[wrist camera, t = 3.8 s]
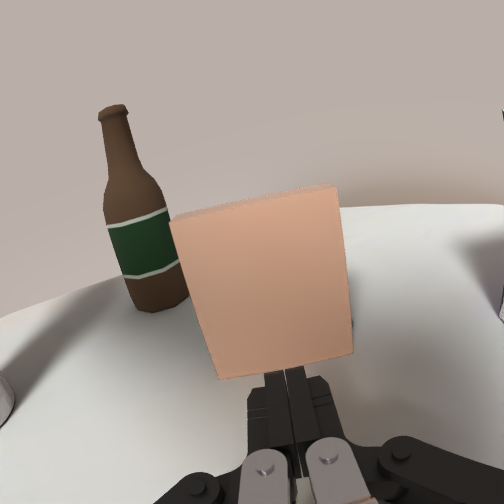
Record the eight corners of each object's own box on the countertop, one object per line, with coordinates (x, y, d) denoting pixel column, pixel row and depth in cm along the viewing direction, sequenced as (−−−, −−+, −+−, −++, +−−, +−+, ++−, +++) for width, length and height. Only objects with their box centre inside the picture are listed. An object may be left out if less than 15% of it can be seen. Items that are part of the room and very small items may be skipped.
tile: (219, 379, 22) (168, 222, 18) (221, 360, 24) (176, 214, 20) (353, 353, 21) (336, 187, 18) (344, 336, 24) (326, 183, 20)
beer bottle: (128, 302, 39) (76, 124, 32) (177, 280, 43) (133, 110, 36) (146, 321, 33) (84, 105, 25) (204, 293, 37) (153, 91, 30)
